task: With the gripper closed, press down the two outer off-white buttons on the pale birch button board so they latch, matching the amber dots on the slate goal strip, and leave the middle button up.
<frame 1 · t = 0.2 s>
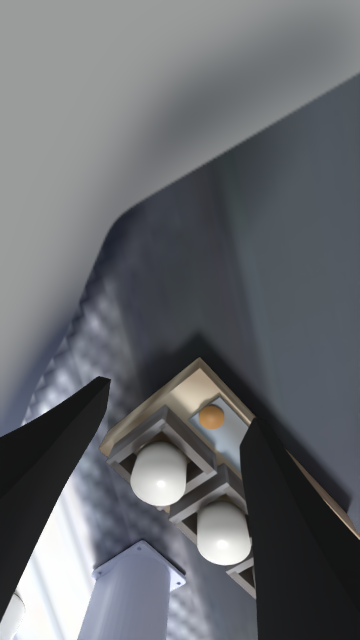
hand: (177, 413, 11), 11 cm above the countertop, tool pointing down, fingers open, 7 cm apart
cylindrical container: (2, 603, 33), on the countertop
button 2: (159, 472, 19), point 5 cm above the countertop, slide at 0.0 cm
middle button: (222, 532, 20), point 5 cm above the countertop, slide at 0.0 cm
button 1: (279, 585, 21), point 5 cm above the countertop, slide at 0.0 cm
button board: (228, 472, 24), on the countertop
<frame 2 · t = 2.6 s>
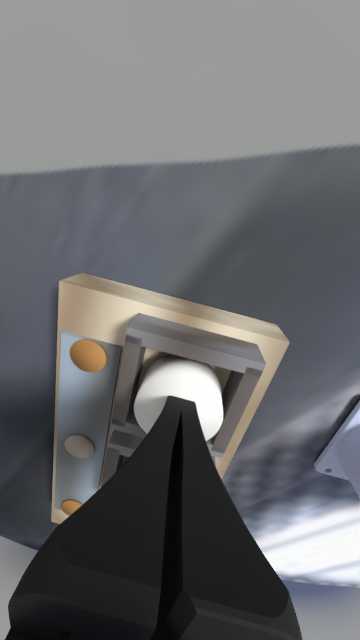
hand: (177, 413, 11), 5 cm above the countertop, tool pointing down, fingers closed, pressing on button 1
button 1: (179, 399, 12), point 4 cm above the countertop, slide at 0.5 cm, touching gripper
button board: (145, 429, 19), on the countertop
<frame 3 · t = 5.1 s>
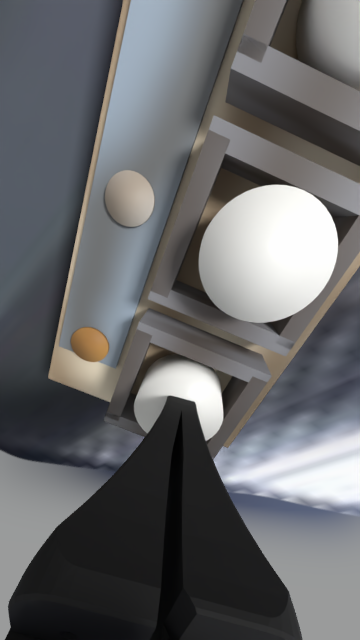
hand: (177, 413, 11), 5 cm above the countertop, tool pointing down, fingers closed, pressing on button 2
button 2: (179, 399, 12), point 4 cm above the countertop, slide at 0.6 cm, touching gripper
middle button: (258, 257, 8), point 5 cm above the countertop, slide at 0.0 cm
button board: (215, 236, 13), on the countertop
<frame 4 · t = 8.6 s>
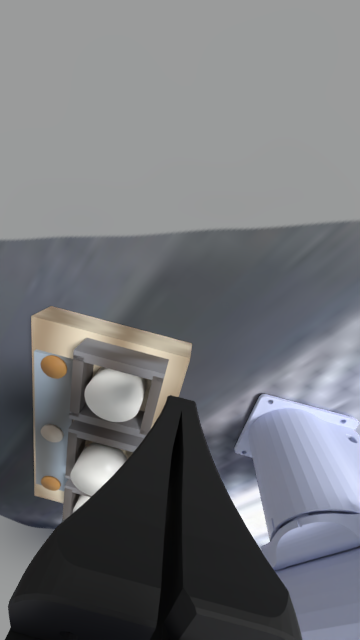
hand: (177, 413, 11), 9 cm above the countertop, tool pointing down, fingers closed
button 2: (97, 505, 24), point 4 cm above the countertop, slide at 1.2 cm
middle button: (100, 469, 20), point 5 cm above the countertop, slide at 0.0 cm
button 1: (116, 391, 18), point 4 cm above the countertop, slide at 1.2 cm
button board: (106, 421, 25), on the countertop
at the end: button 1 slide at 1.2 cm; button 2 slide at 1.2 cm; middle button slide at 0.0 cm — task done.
